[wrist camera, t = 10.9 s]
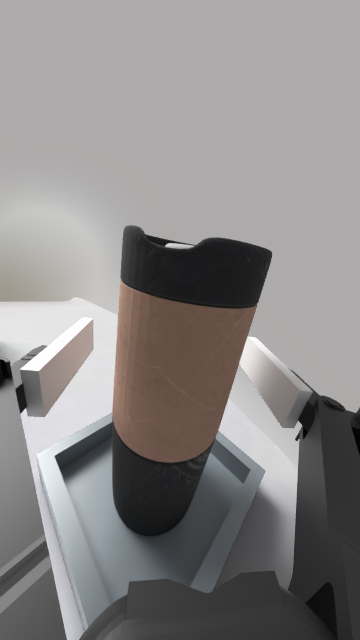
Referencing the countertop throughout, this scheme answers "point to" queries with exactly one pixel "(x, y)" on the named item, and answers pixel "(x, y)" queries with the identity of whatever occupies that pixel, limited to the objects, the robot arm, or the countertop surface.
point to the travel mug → (175, 366)
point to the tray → (126, 545)
